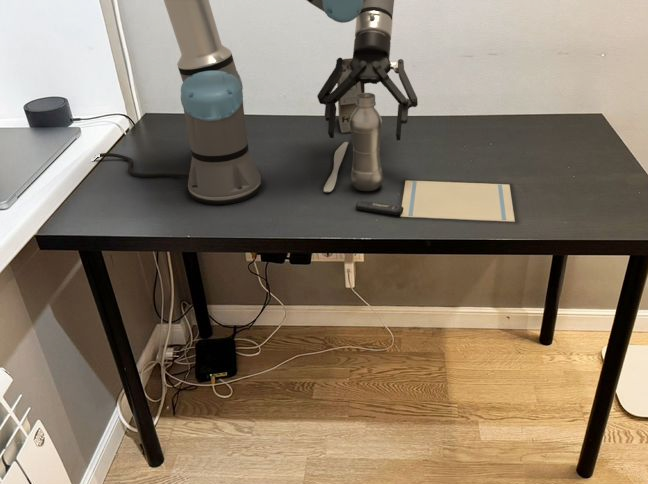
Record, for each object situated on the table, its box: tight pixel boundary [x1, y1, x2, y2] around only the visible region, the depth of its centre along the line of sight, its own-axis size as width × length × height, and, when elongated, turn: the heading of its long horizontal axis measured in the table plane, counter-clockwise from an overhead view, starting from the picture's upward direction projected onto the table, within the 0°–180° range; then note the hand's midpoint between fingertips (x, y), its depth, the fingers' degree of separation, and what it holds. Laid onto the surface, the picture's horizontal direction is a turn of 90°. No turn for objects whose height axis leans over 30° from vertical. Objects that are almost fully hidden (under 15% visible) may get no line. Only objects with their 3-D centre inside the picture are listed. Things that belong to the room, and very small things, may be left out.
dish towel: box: [399, 180, 516, 223], centre depth 132 cm, size 22×16×1 cm
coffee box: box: [335, 57, 366, 134], centre depth 163 cm, size 9×6×16 cm
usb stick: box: [355, 199, 403, 216], centre depth 128 cm, size 10×3×2 cm, turn 69°
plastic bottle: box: [349, 92, 384, 192], centre depth 132 cm, size 6×7×20 cm
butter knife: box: [323, 141, 349, 193], centre depth 146 cm, size 1×27×3 cm
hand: (364, 136), depth 130 cm, fingers open, 13 cm apart
